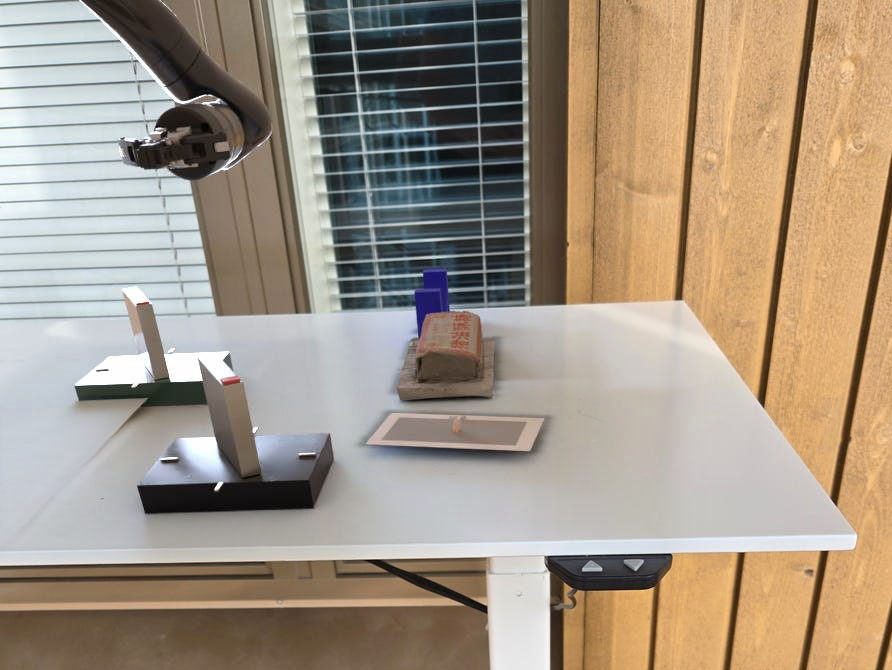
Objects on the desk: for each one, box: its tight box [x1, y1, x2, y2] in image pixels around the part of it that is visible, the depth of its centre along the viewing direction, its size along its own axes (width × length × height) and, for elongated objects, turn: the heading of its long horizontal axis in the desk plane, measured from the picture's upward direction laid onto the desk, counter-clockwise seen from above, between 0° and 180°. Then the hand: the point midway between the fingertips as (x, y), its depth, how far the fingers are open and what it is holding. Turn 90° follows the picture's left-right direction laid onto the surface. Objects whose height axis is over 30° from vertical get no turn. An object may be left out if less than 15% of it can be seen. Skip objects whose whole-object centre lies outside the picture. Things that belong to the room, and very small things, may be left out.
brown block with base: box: [396, 310, 495, 401], centre depth 97 cm, size 18×5×10 cm
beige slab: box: [121, 286, 170, 380], centre depth 95 cm, size 9×2×8 cm, turn 27°
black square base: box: [136, 426, 335, 514], centre depth 75 cm, size 14×13×3 cm
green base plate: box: [73, 348, 235, 407], centre depth 97 cm, size 14×13×3 cm
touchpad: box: [365, 412, 545, 452], centre depth 81 cm, size 8×15×2 cm, turn 77°
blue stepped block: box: [413, 268, 456, 338], centre depth 111 cm, size 12×4×6 cm, turn 178°
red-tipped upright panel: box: [197, 352, 261, 478], centre depth 72 cm, size 9×2×8 cm, turn 27°
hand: (147, 158), depth 91 cm, fingers closed
